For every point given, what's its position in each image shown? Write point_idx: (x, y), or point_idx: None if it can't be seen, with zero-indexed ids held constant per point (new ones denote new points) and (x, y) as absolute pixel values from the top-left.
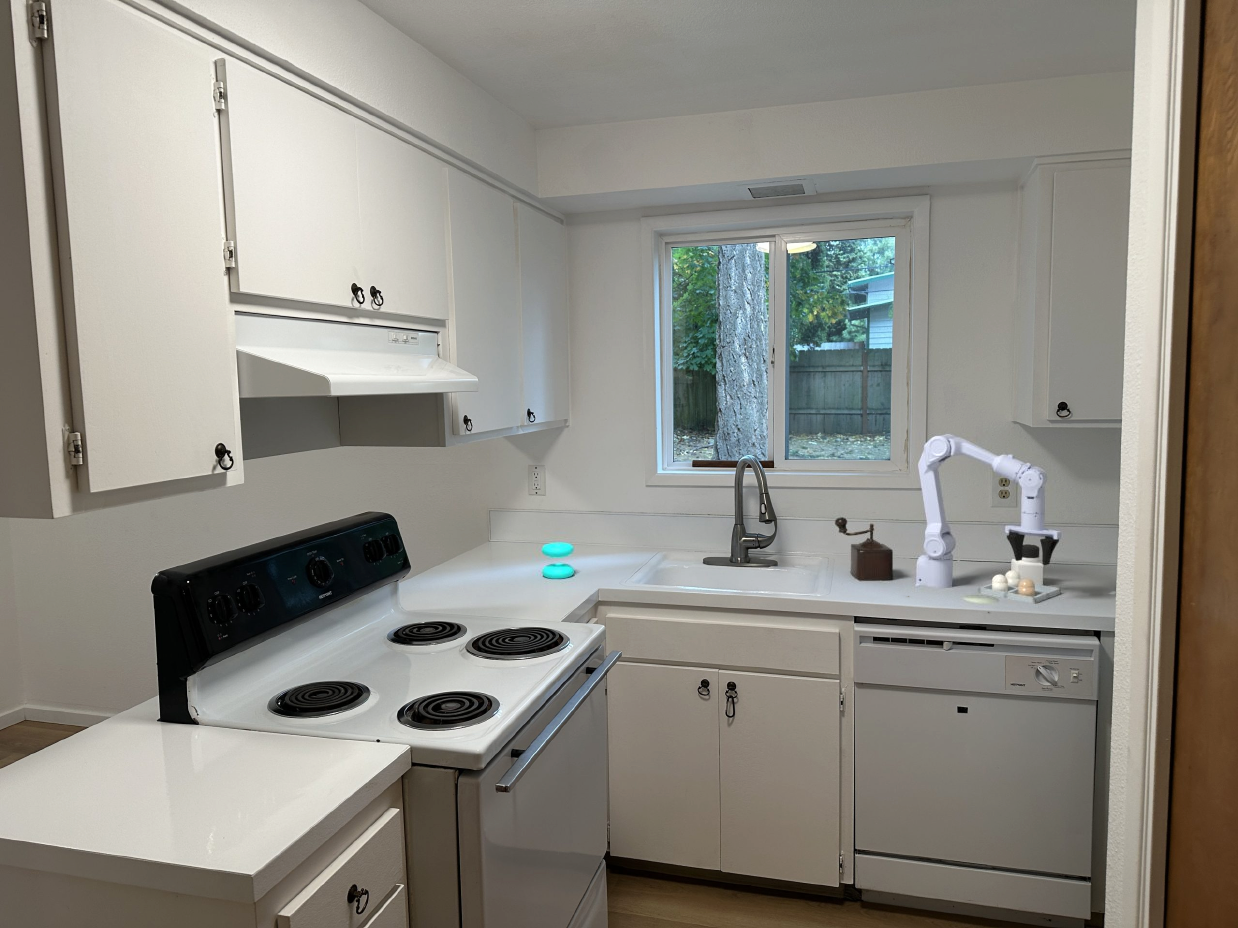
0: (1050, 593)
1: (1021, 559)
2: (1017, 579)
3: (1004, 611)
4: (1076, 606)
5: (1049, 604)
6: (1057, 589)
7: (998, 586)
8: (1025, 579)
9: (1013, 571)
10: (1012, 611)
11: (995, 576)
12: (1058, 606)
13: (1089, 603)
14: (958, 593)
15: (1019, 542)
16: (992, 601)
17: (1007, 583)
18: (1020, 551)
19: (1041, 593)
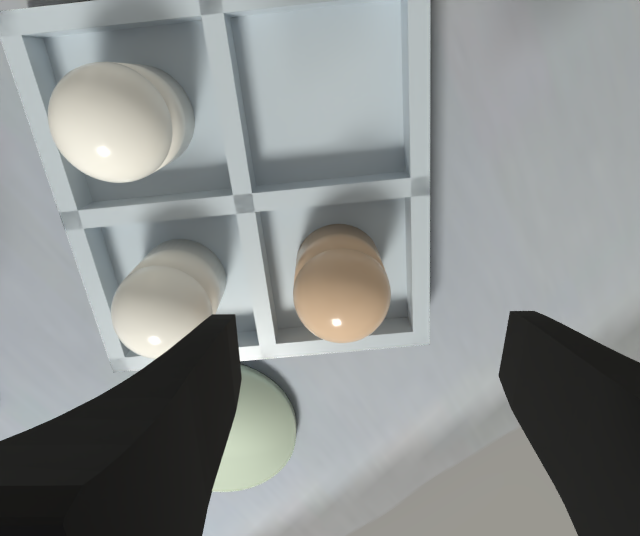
0: (428, 148)
1: (235, 324)
2: (171, 144)
3: (374, 470)
4: (581, 159)
5: (455, 233)
6: (428, 26)
7: None
8: (342, 329)
9: (109, 148)
10: (395, 450)
11: (140, 354)
12: (506, 234)
13: (625, 18)
14: (49, 377)
15: (172, 511)
16: (276, 433)
17: (210, 296)
18: (213, 393)
19: (391, 196)
